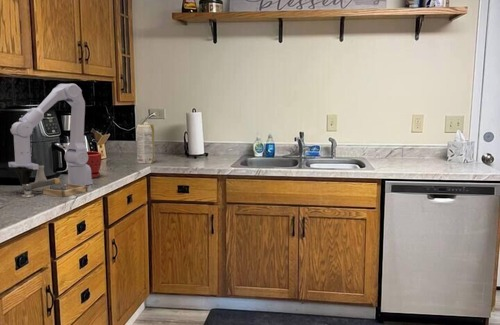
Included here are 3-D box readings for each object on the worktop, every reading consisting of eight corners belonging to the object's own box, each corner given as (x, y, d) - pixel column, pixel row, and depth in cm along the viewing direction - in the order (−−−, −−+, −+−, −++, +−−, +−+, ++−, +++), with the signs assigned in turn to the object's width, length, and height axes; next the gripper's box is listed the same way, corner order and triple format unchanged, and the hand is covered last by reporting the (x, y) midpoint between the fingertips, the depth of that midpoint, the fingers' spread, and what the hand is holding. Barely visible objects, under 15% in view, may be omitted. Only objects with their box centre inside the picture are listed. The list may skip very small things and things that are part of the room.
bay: (68, 188, 195) (68, 183, 195) (87, 191, 191) (87, 186, 191) (43, 194, 184) (43, 189, 183) (63, 197, 179) (62, 191, 179)
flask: (53, 188, 197) (52, 164, 195) (46, 191, 190) (45, 167, 188) (36, 188, 196) (34, 164, 195) (28, 191, 189) (27, 167, 188)
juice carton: (155, 162, 278) (155, 122, 274) (151, 164, 270) (151, 122, 266) (140, 161, 278) (139, 121, 275) (136, 163, 271) (135, 122, 267)
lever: (27, 190, 177) (26, 185, 177) (20, 189, 179) (20, 184, 179) (60, 183, 192) (60, 178, 192) (54, 182, 194) (54, 177, 193)
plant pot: (68, 179, 218) (67, 153, 217) (81, 174, 231) (80, 150, 230) (94, 180, 217) (93, 154, 215) (106, 175, 230) (105, 151, 228)
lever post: (28, 194, 183) (28, 188, 183) (36, 195, 181) (36, 189, 181) (19, 196, 179) (18, 190, 179) (27, 197, 177) (27, 191, 177)
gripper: (1, 152, 183) (3, 186, 185) (27, 154, 177) (29, 189, 179) (16, 150, 189) (18, 183, 191) (42, 152, 183) (43, 186, 185)
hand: (24, 186), depth 185 cm, fingers closed
